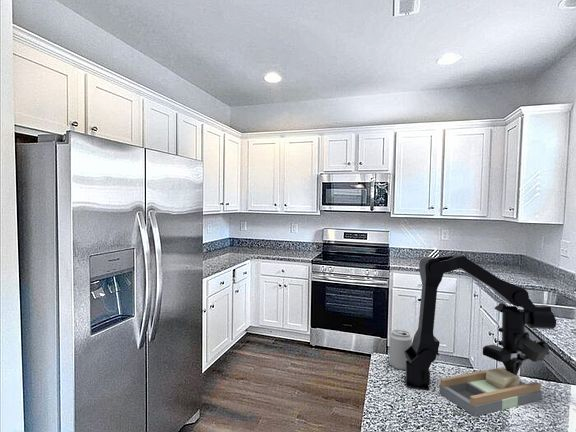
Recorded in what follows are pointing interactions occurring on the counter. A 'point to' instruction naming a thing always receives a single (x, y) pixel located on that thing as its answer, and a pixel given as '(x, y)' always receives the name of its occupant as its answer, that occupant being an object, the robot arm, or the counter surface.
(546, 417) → the counter surface
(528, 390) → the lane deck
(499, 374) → the maple block
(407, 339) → the can
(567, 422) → the counter surface
